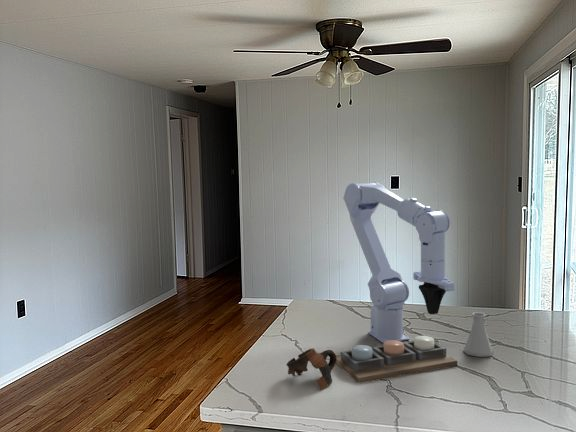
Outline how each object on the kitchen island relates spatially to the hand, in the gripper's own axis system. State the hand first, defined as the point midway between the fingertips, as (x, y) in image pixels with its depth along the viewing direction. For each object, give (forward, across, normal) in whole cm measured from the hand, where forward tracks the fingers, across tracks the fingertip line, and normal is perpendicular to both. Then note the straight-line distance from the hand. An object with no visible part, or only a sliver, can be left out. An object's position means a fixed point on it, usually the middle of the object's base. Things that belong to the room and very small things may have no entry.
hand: (433, 313), depth 130 cm
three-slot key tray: (+10, +2, -12) cm, 16 cm away
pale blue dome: (+9, +2, -21) cm, 22 cm away
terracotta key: (+9, +2, -12) cm, 15 cm away
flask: (+11, +4, +11) cm, 16 cm away
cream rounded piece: (+9, +2, -4) cm, 10 cm away
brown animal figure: (+11, +3, -34) cm, 35 cm away
